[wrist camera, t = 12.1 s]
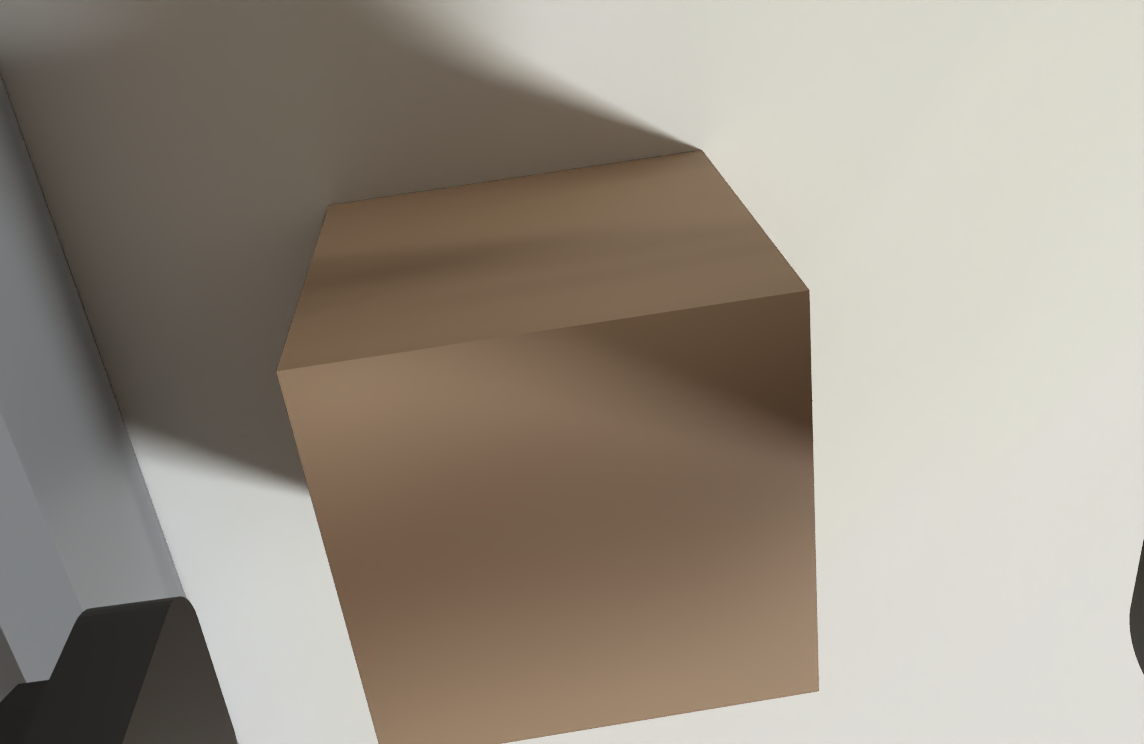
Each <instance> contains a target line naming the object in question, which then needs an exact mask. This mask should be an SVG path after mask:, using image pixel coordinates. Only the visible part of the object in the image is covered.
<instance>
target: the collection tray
mask: <svg viewBox="0 0 1144 744" xmlns="http://www.w3.org/2000/svg"><path fill="white" fill-rule="evenodd" d="M178 596H182V597H185V598H186V596H185V593H184V591H183V588H182V585H181V582H180V579H179V577H178V574H177V571H176V568H175V565H174V562H173V560H172V557H171V554H170V551H169V548H168V546H167V543H166V540H165V537H164V534H163V531H162V529H161V526H160V523H159V520H158V517H157V515H156V512H155V509H154V506H153V503H152V500H151V498H150V495H149V492H148V489H147V486H146V484H145V481H144V478H143V475H142V472H141V469H140V467H139V464H138V461H137V458H136V455H135V453H134V450H133V447H132V444H131V441H130V438H129V436H128V433H127V430H126V427H125V424H124V422H123V419H122V416H121V413H120V410H119V407H118V405H117V402H116V399H115V396H114V393H113V391H112V388H111V385H110V382H109V379H108V376H107V374H106V371H105V368H104V365H103V362H102V360H101V357H100V354H99V351H98V348H97V345H96V343H95V340H94V337H93V334H92V331H91V329H90V326H89V323H88V320H87V317H86V314H85V312H84V309H83V306H82V303H81V300H80V298H79V295H78V292H77V289H76V286H75V283H74V281H73V278H72V275H71V272H70V269H69V267H68V264H67V261H66V258H65V255H64V252H63V250H62V247H61V244H60V241H59V238H58V236H57V233H56V230H55V227H54V224H53V221H52V219H51V216H50V213H49V210H48V207H47V205H46V202H45V199H44V196H43V193H42V190H41V188H40V185H39V182H38V179H37V176H36V174H35V171H34V168H33V165H32V162H31V159H30V157H29V154H28V151H27V148H26V145H25V143H24V140H23V137H22V134H21V131H20V128H19V126H18V123H17V120H16V117H15V114H14V112H13V109H12V106H11V103H10V100H9V97H8V95H7V92H6V89H5V86H4V83H3V81H2V78H1V75H0V702H1V701H2V700H3V699H4V698H5V697H6V696H7V695H8V694H9V693H10V692H11V691H12V690H13V689H14V688H15V687H16V686H17V684H21V683H29V682H36V681H43V680H49V679H50V676H51V674H52V672H53V670H54V668H55V665H56V663H57V661H58V659H59V657H60V654H61V652H62V650H63V648H64V646H65V643H66V641H67V639H68V637H69V634H70V632H71V630H72V628H73V626H74V624H75V622H76V620H77V618H78V617H79V615H80V614H81V613H82V612H83V611H85V610H86V609H89V608H95V607H103V606H111V605H118V604H126V603H133V602H141V601H148V600H156V599H163V598H171V597H178ZM236 741H237V740H236ZM237 744H238V743H237Z"/></svg>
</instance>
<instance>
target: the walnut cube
mask: <svg viewBox="0 0 1144 744" xmlns="http://www.w3.org/2000/svg"><path fill="white" fill-rule="evenodd" d="M276 373H277V376H278V380H279V384H280V387H281V391H282V395H283V398H284V402H285V405H286V409H287V413H288V416H289V420H290V424H291V427H292V431H293V434H294V438H295V442H296V445H297V449H298V453H299V456H300V460H301V464H302V467H303V471H304V474H305V478H306V482H307V485H308V489H309V493H310V496H311V500H312V503H313V507H314V511H315V514H316V518H317V522H318V525H319V529H320V532H321V536H322V540H323V543H324V547H325V551H326V554H327V558H328V562H329V565H330V569H331V572H332V576H333V580H334V583H335V587H336V591H337V594H338V598H339V601H340V605H341V609H342V612H343V616H344V620H345V623H346V627H347V630H348V634H349V638H350V641H351V645H352V649H353V652H354V656H355V660H356V663H357V667H358V670H359V674H360V678H361V681H362V685H363V689H364V692H365V696H366V699H367V703H368V707H369V710H370V714H371V718H372V721H373V725H374V728H375V732H376V736H377V739H378V743H379V744H501V743H507V742H514V741H520V740H526V739H532V738H538V737H544V736H550V735H556V734H562V733H568V732H574V731H580V730H586V729H592V728H598V727H605V726H611V725H617V724H623V723H629V722H635V721H641V720H647V719H653V718H659V717H665V716H671V715H677V714H683V713H689V712H695V711H702V710H708V709H714V708H720V707H726V706H732V705H738V704H744V703H750V702H756V701H762V700H768V699H774V698H780V697H786V696H793V695H799V694H805V693H811V692H817V691H819V675H818V633H817V591H816V550H815V508H814V466H813V424H812V383H811V341H810V299H809V289H808V288H807V287H806V285H805V284H804V283H803V281H802V280H801V279H800V277H799V276H798V275H797V273H796V272H795V271H794V270H793V268H792V267H791V266H790V264H789V263H788V262H787V260H786V259H785V258H784V256H783V255H782V254H781V253H780V251H779V250H778V249H777V247H776V246H775V245H774V243H773V242H772V241H771V240H770V238H769V237H768V236H767V234H766V233H765V232H764V230H763V229H762V228H761V226H760V225H759V224H758V223H757V221H756V220H755V219H754V217H753V216H752V215H751V213H750V212H749V211H748V210H747V208H746V207H745V206H744V204H743V203H742V202H741V200H740V199H739V198H738V196H737V195H736V194H735V193H734V191H733V190H732V189H731V187H730V186H729V185H728V183H727V182H726V181H725V179H724V178H723V177H722V176H721V174H720V173H719V172H718V170H717V169H716V168H715V166H714V165H713V164H712V163H711V161H710V160H709V159H708V157H707V156H706V155H705V153H704V152H703V151H702V150H699V151H692V152H685V153H679V154H672V155H665V156H658V157H652V158H645V159H638V160H631V161H625V162H618V163H611V164H604V165H598V166H591V167H584V168H577V169H570V170H564V171H557V172H550V173H543V174H537V175H530V176H523V177H516V178H510V179H503V180H496V181H489V182H483V183H476V184H469V185H462V186H456V187H449V188H442V189H435V190H428V191H422V192H415V193H408V194H401V195H395V196H388V197H381V198H374V199H368V200H361V201H354V202H347V203H341V204H334V205H329V206H328V209H327V212H326V216H325V219H324V222H323V225H322V228H321V231H320V235H319V238H318V241H317V244H316V247H315V250H314V253H313V257H312V260H311V263H310V266H309V269H308V272H307V276H306V279H305V282H304V285H303V288H302V291H301V295H300V298H299V301H298V304H297V307H296V310H295V313H294V317H293V320H292V323H291V326H290V329H289V332H288V336H287V339H286V342H285V345H284V348H283V351H282V354H281V358H280V361H279V364H278V367H277V370H276Z"/></svg>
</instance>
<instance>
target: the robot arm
mask: <svg viewBox="0 0 1144 744" xmlns="http://www.w3.org/2000/svg"><path fill="white" fill-rule="evenodd" d="M1130 633H1131V639H1132V644H1133V648H1134V651H1135V655H1136V657H1137V660H1138V663H1139V665H1140V667H1141V670H1142V672H1143V674H1144V541H1143V546H1142V551H1141V556H1140V561H1139V566H1138V572H1137V577H1136V582H1135V587H1134V592H1133V597H1132V603H1131V608H1130ZM0 744H237V741H236V736H235V732H234V729H233V726H232V722H231V719H230V716H229V713H228V710H227V707H226V704H225V701H224V698H223V695H222V691H221V688H220V685H219V682H218V679H217V676H216V673H215V670H214V667H213V664H212V660H211V657H210V654H209V651H208V648H207V645H206V642H205V639H204V636H203V633H202V629H201V626H200V623H199V620H198V617H197V615H196V612H195V610H194V608H193V606H192V604H191V603H190V602H189V600H188V599H186V598H185V597H182V596H178V597H171V598H163V599H156V600H148V601H141V602H133V603H126V604H118V605H111V606H103V607H95V608H89V609H86V610H85V611H83V612H82V613H81V614H80V615H79V617H78V618H77V620H76V622H75V624H74V626H73V628H72V630H71V632H70V634H69V637H68V639H67V641H66V643H65V646H64V648H63V650H62V652H61V654H60V657H59V659H58V661H57V663H56V665H55V668H54V670H53V672H52V674H51V676H50V679H49V680H43V681H36V682H29V683H21V684H17V686H16V687H15V688H14V689H13V690H12V691H11V692H10V693H9V694H8V695H7V696H6V697H5V698H4V699H3V700H2V701H1V702H0Z"/></svg>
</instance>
